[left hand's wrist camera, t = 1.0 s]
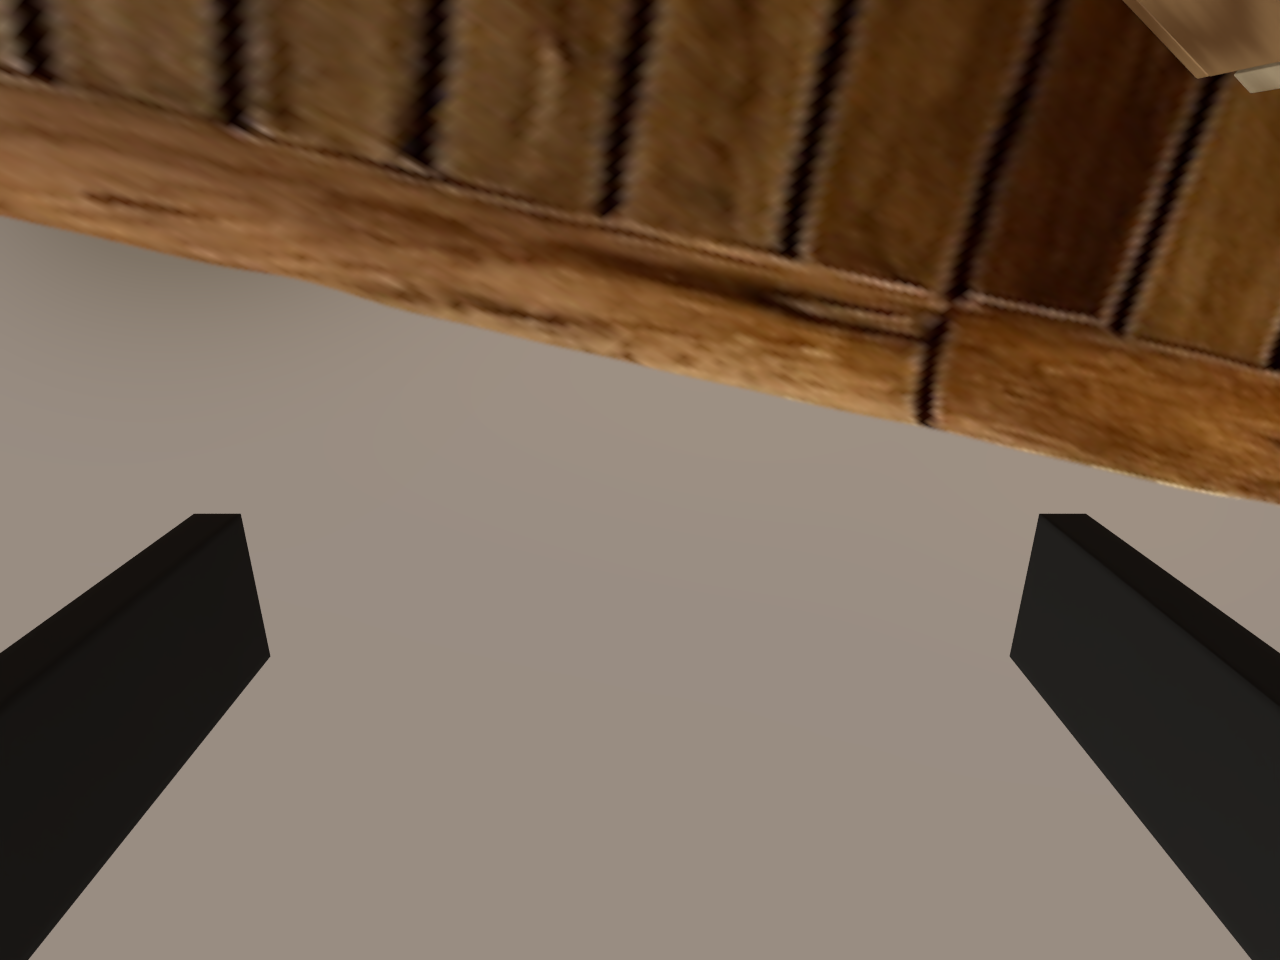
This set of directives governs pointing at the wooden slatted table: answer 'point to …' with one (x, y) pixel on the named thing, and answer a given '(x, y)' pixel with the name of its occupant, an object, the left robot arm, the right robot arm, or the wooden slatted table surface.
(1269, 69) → the drawer
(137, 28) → the wooden slatted table surface
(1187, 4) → the cabinet
